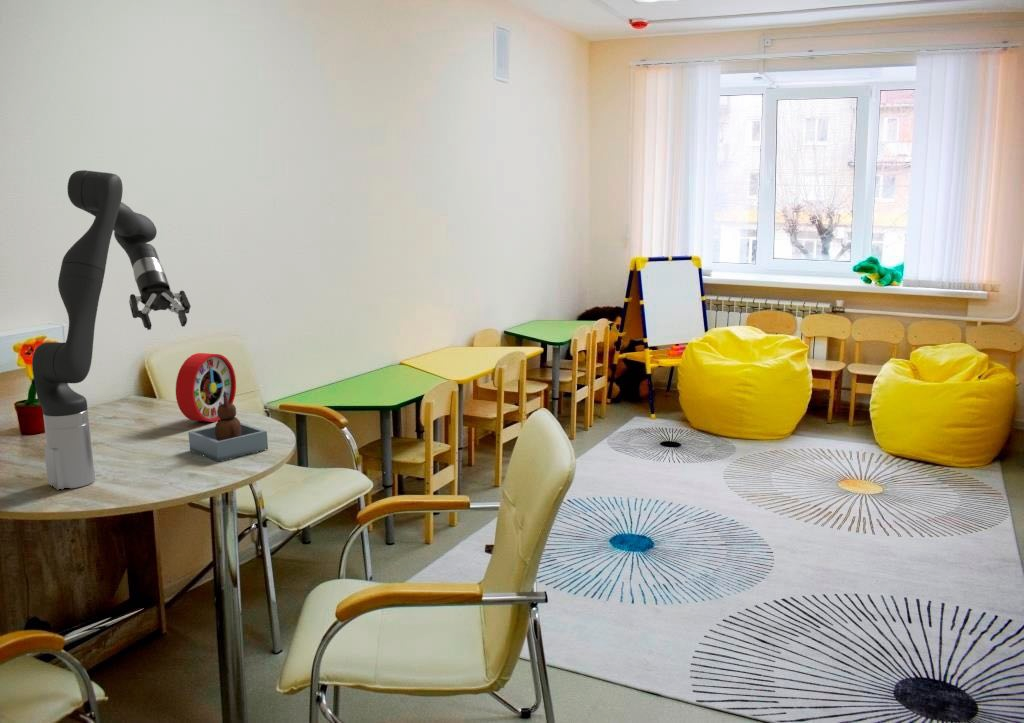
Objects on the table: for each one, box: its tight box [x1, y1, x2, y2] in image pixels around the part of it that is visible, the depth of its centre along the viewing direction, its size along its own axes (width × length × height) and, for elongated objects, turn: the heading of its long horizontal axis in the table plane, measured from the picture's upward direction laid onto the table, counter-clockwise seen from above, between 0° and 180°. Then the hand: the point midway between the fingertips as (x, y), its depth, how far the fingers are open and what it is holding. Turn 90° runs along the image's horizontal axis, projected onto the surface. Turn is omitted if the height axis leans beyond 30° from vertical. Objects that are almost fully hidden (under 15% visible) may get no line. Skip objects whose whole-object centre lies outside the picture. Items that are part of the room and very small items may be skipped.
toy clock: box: [175, 352, 237, 423], centre depth 262 cm, size 20×6×20 cm, turn 161°
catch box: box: [187, 422, 269, 462], centre depth 232 cm, size 14×15×5 cm
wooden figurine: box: [215, 392, 241, 441], centre depth 231 cm, size 7×6×15 cm
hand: (167, 326), depth 229 cm, fingers open, 8 cm apart
